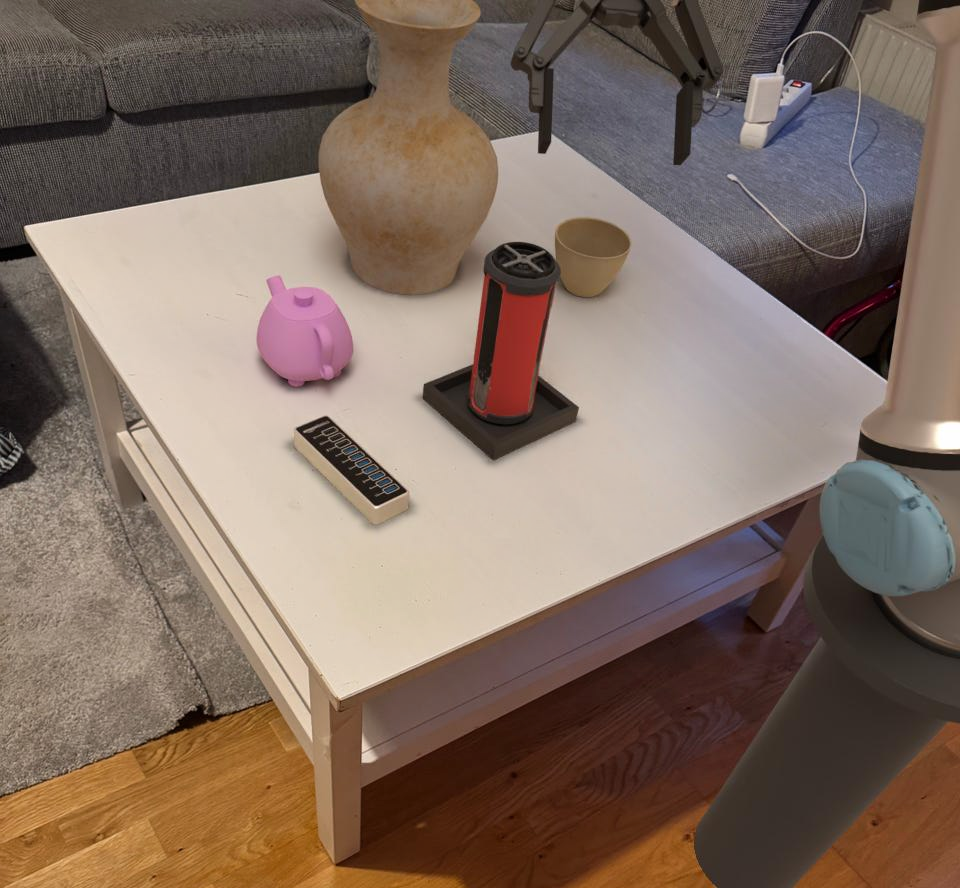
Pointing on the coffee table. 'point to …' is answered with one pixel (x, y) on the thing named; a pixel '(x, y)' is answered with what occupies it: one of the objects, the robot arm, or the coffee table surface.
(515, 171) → the coffee table surface
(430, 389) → the dock pad
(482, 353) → the speaker
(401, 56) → the vase
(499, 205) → the coffee table surface
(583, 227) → the flower pot
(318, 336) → the teapot
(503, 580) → the coffee table surface
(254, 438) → the coffee table surface
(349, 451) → the multiport hub
